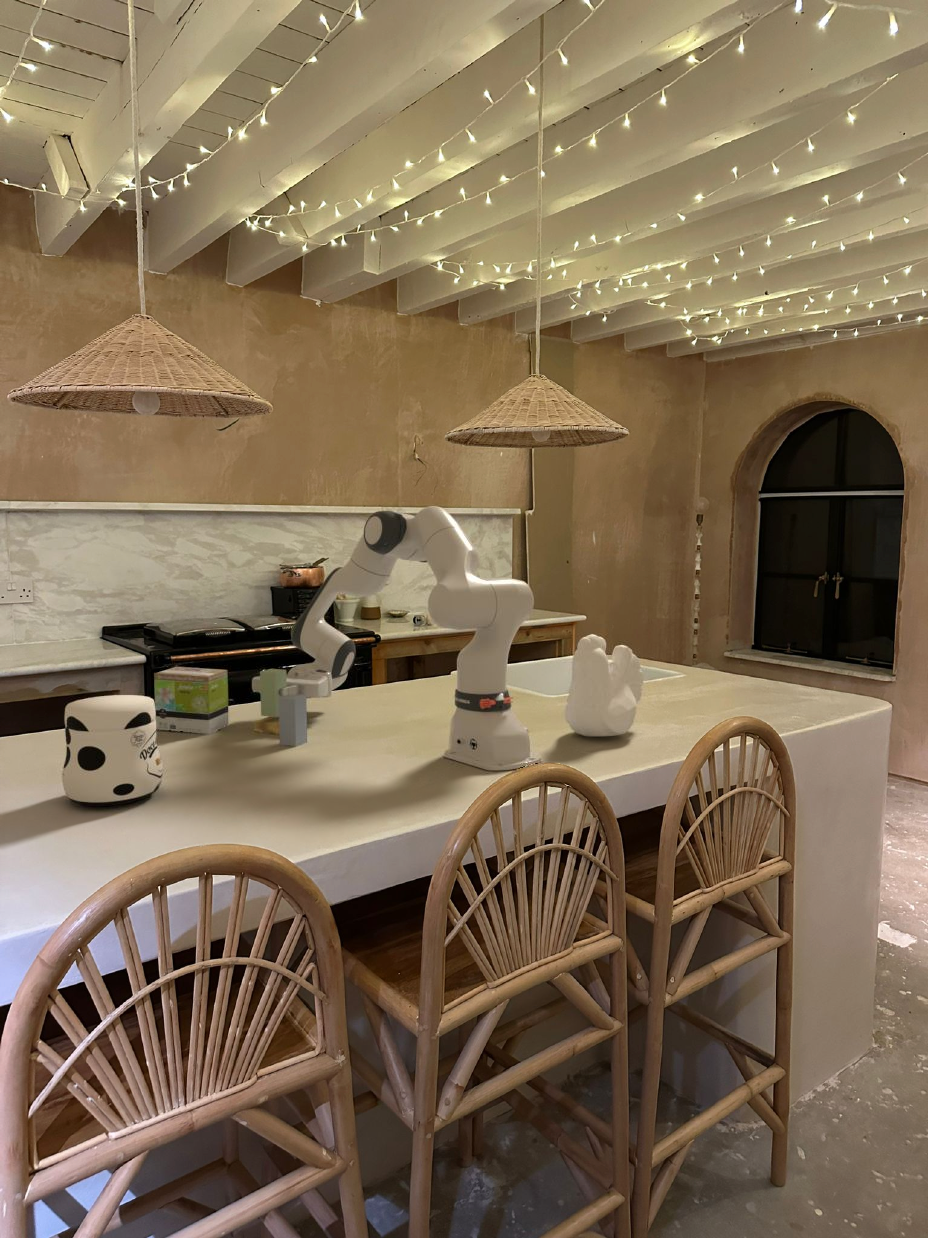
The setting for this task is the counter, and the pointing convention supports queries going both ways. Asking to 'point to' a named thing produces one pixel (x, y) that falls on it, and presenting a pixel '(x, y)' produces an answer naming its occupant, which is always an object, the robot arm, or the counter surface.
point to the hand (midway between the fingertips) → (271, 691)
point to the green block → (271, 691)
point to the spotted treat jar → (111, 750)
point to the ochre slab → (267, 725)
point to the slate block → (293, 720)
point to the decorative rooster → (603, 689)
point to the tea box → (191, 699)
